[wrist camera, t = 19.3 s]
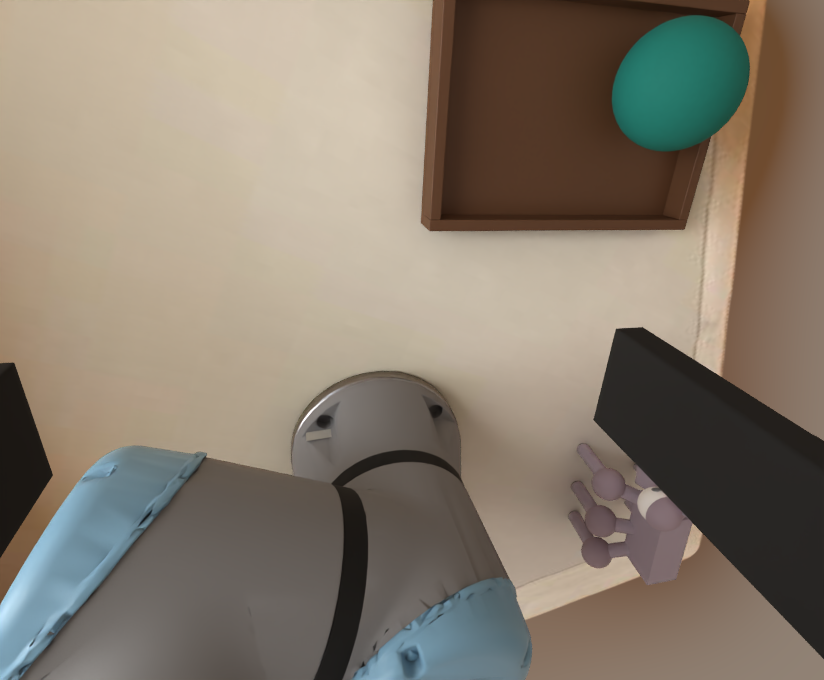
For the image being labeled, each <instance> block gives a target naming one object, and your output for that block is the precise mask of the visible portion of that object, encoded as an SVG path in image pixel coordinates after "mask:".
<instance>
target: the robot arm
mask: <svg viewBox="0 0 824 680" xmlns="http://www.w3.org/2000/svg"><path fill="white" fill-rule="evenodd" d="M594 421H595V422H596V423H597V424H598V425H599V426H600V427H601V428H602V429H603V430H604V431H605V432H606V433H607V435H608V436H609V437H610V438H611V439H612V440H613V441H614V442H615V443H616V444H617V445H618V446H619V447H620V448H621V449H622V450H623V451H624V452H625V453H626V454H627V455H628V456H629V457H630V458H631V459H632V460H633V461H634V463H635V464H636V465H637V466H638V467H639V468H640V469H641V470H642V471H643V472H644V473H645V474H646V475H647V476H648V477H649V478H650V479H651V480H652V481H653V482H654V483H655V484H656V485H657V486H658V487H659V488H660V490H661V491H662V492H663V493H664V494H665V495H666V496H667V497H668V498H669V499H670V500H671V501H672V502H673V503H674V504H675V505H676V506H677V507H678V508H679V509H680V510H681V511H682V512H683V513H684V514H685V515H686V516H687V518H688V519H689V520H690V521H691V522H692V523H693V524H694V525H695V526H696V527H697V528H698V529H699V530H700V531H701V532H702V533H703V534H704V535H705V536H706V537H707V538H708V539H709V540H710V541H711V542H712V543H713V544H714V546H716V548H717V549H719V551H720V552H721V553H722V554H723V555H724V556H725V557H726V558H727V559H728V560H729V561H730V562H731V563H732V564H733V565H734V566H735V567H736V568H737V569H738V570H739V571H740V573H741V574H742V575H743V576H744V577H745V578H746V579H747V580H748V581H749V582H750V583H751V584H752V585H753V586H754V587H755V588H756V589H757V590H758V591H759V592H760V593H761V594H762V595H763V596H764V597H765V598H766V600H767V601H768V602H769V603H770V604H771V605H772V606H773V607H774V608H775V609H776V610H777V611H778V612H779V613H780V614H781V615H782V616H783V617H784V618H785V619H786V620H787V621H788V622H789V623H790V624H791V625H792V627H793V628H794V629H795V630H796V631H797V632H798V633H799V634H800V635H801V636H802V637H803V638H804V639H805V640H806V641H807V642H808V643H809V644H810V645H811V646H812V647H813V648H814V649H815V650H816V651H817V652H818V653H819V655H821V657H822V658H823V659H824V441H823V440H821V439H820V438H818V437H817V436H814V435H812V434H811V433H809V432H807V431H806V430H804V429H803V428H801V427H800V426H798V425H796V424H795V423H793V422H792V421H790V420H788V419H787V418H785V417H784V416H782V415H780V414H779V413H777V412H776V411H774V410H773V409H771V408H769V407H767V406H766V405H765V404H763V403H761V402H760V401H758V400H757V399H755V398H754V397H752V396H750V395H749V394H747V393H746V392H744V391H743V390H741V389H739V388H738V387H736V386H735V385H733V384H731V383H730V382H728V381H727V380H725V379H724V378H722V377H720V376H719V375H717V374H716V373H714V372H712V371H711V370H709V369H708V368H706V367H705V366H703V365H701V364H700V363H698V362H697V361H695V360H693V359H692V358H690V357H689V356H687V355H686V354H684V353H682V352H681V351H679V350H678V349H676V348H674V347H673V346H671V345H670V344H668V343H667V342H665V341H663V340H662V339H660V338H659V337H657V336H655V335H654V334H652V333H651V332H649V331H648V330H646V329H644V328H643V327H640V328H622V329H616V331H615V335H614V339H613V343H612V347H611V351H610V355H609V359H608V364H607V368H606V372H605V376H604V380H603V384H602V388H601V392H600V396H599V400H598V404H597V408H596V412H595V416H594ZM206 456H207V453H204V452H197V453H195V454H189V453H183V452H177V451H170V450H164V449H158V448H152V447H145V446H126V447H122V448H119V449H116V450H114V451H111V452H110V453H108V454H106V455H105V456H103V457H102V458H100V459H99V460H98V461H97V462H96V463H95V464H94V465H93V466H92V467H91V468H90V469H89V470H88V471H87V472H86V473H85V474H84V476H83V477H82V478H81V479H80V481H79V482H78V483H77V484H76V486H75V487H74V488H73V490H72V491H71V492H70V494H69V495H68V497H67V498H66V500H65V501H64V502H63V504H62V505H61V507H60V508H59V510H58V511H57V513H56V514H55V515H54V517H53V518H52V520H51V521H50V523H49V525H48V526H47V528H46V529H45V531H44V533H43V534H42V536H41V537H40V539H39V540H38V542H37V544H36V545H35V547H34V548H33V550H32V551H31V553H30V555H29V556H28V558H27V560H26V561H25V563H24V565H23V566H22V568H21V570H20V571H19V573H18V575H17V577H16V578H15V580H14V582H13V583H12V585H11V587H10V589H9V590H8V592H7V594H6V596H5V598H4V599H3V601H2V603H1V605H0V680H525V679H526V676H527V674H528V671H529V668H530V664H531V657H532V643H531V637H530V633H529V630H528V628H527V625H526V622H525V620H524V617H523V615H522V612H521V610H520V607H519V605H518V602H517V599H516V597H517V595H516V589H515V587H514V585H513V583H512V582H511V580H510V579H509V577H508V575H507V573H506V571H505V569H504V567H503V565H502V562H501V560H500V558H499V556H498V554H497V552H496V550H495V548H494V546H493V544H492V542H491V540H490V538H489V536H488V534H487V531H486V529H485V527H484V525H483V523H482V521H481V519H480V517H479V515H478V513H477V511H476V509H475V507H474V505H473V503H472V500H471V498H470V496H469V494H468V492H467V490H466V488H465V486H464V484H463V482H462V480H461V440H460V433H459V429H458V424H457V421H456V418H455V416H454V414H453V412H452V410H451V408H450V406H449V404H448V403H447V401H446V400H445V398H444V397H443V396H442V394H441V393H440V392H439V391H438V390H437V389H435V388H434V387H433V386H432V385H430V384H429V383H427V382H425V381H424V380H421V379H419V378H417V377H414V376H412V375H408V374H404V373H399V372H389V371H378V372H369V373H364V374H359V375H356V376H352V377H349V378H347V379H344V380H342V381H340V382H338V383H336V384H334V385H332V386H331V387H329V388H327V389H326V390H325V391H323V392H322V393H321V394H319V395H318V396H317V397H316V398H315V399H314V400H313V401H312V402H311V403H310V404H309V405H308V406H307V408H306V409H305V410H304V411H303V413H302V415H301V416H300V418H299V420H298V422H297V424H296V426H295V429H294V432H293V436H292V443H291V463H292V469H293V473H294V476H293V475H288V474H283V473H278V472H274V471H269V470H264V469H259V468H255V467H250V466H245V465H240V464H235V463H231V462H226V461H221V460H216V459H211V458H207V457H206ZM52 476H53V474H52V471H51V468H50V465H49V462H48V460H47V457H46V454H45V451H44V448H43V445H42V442H41V439H40V436H39V433H38V431H37V428H36V425H35V422H34V419H33V416H32V413H31V410H30V407H29V404H28V402H27V399H26V396H25V393H24V390H23V387H22V384H21V381H20V378H19V375H18V373H17V370H16V367H15V364H14V363H0V557H1V556H2V554H3V553H4V551H5V549H6V548H7V546H8V545H9V543H10V542H11V540H12V538H13V537H14V535H15V534H16V532H17V531H18V529H19V527H20V526H21V524H22V523H23V521H24V520H25V518H26V516H27V515H28V513H29V512H30V510H31V509H32V507H33V505H34V504H35V502H36V501H37V499H38V498H39V496H40V494H41V493H42V491H43V490H44V488H45V487H46V485H47V483H48V482H49V480H50V479H51V477H52Z"/></svg>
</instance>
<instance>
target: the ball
mask: <svg viewBox="0 0 824 680" xmlns="http://www.w3.org/2000/svg"><path fill="white" fill-rule="evenodd" d="M749 72H750V63H749V56H748V52H747V49H746V46H745V44H744V42H743V40H742V38H741V37H740V36H739V34H738V33H737V32H736V31H735V30H734V29H733V28H732V27H731V26H729V25H728V24H726V23H725V22H723V21H721V20H719V19H716V18H713V17H709V16H703V15H690V16H683V17H679V18H675V19H672V20H669V21H667V22H664V23H662V24H660V25H658V26H657V27H655V28H654V29H652V30H651V31H649V32H648V33H646V34H645V35H644V36H643V37H641V38H640V39H639V40H638V41H637V42H636V44H635V45H634V46H633V47H632V48H631V49H630V51H629V52H628V53H627V55H626V56H625V58H624V59H623V61H622V63H621V65H620V67H619V69H618V71H617V74H616V77H615V80H614V84H613V90H612V107H613V113H614V116H615V119H616V121H617V123H618V125H619V127H620V129H621V130H622V132H623V133H624V134H625V135H626V136H627V137H628V138H629V139H630V140H631V141H633V142H634V143H636V144H637V145H639V146H641V147H644V148H646V149H650V150H655V151H662V152H663V151H676V150H682V149H686V148H689V147H692V146H694V145H696V144H699V143H701V142H703V141H704V140H706V139H708V138H709V137H711V136H712V135H714V134H715V133H716V132H717V131H719V130H720V129H721V128H722V127H723V126H724V125H725V124H726V123H727V122H728V121H729V119H730V118H731V117H732V116H733V114H734V113H735V112H736V110H737V108H738V107H739V105H740V103H741V101H742V99H743V97H744V95H745V92H746V89H747V85H748V81H749Z"/></svg>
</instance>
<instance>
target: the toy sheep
mask: <svg viewBox="0 0 824 680" xmlns="http://www.w3.org/2000/svg"><path fill="white" fill-rule="evenodd" d="M577 452H578V454H579V455H580V456H581V458H582V459H583V460H584V462H585V463H586V465H587V466H588V467H589V469H590V470H591V471H592V473H593V474H594V476H593V478H592V487H593V490H594V492H595V493H596V494H597V495H598V496H599V497H600V498H602V499H604V500H608V501H613V500H617V499H619V498H620V497H621V498H623V499H625V501H624V503H625V505H626V506H627V507H628V509H629V510H630V511H631V516H630V520H628V519H622V518H616V516H615V514H614V513H613V512H612V511H611V510H610V509H609V508H607V507H605V506H602V505H597V504H596V502H595V501H594V499H593V498H592V496H591V495H590V493H589V492H588V491H587V489H586V488H585V486H584V485H583V483H582V482H580V481H576V482H574V483H573V484H572V486H571V489H572V491H573V492H574V494H575V495H576V497H577V498H578V500H579V501H580V503H581V504H582V506H583V508H584V509H585V511H586V515H585V521H584V520H583V518H582V516H581V515H580V513H579V512H577V511H573V512H571V513H570V514H569V520H570V521H571V523H572V525H573V526H574V528H575V530H576V532H577V533H578V535H579V537H580V538H581V540H582V542H583V545H582V548H581V553H582V556H583V558H584V560H585V562H586V563H587V564H589V565H590V566H592V567H594V568H603V567H606V566H607V565H608V564H609V563H610V561H611V559H612V558H615V557H623V556H627V557H628V558H629V559H630V561H631V562H632V564H633V565H634V567H635V568H636V570H637V571H638V573H639V574H640V576H641V577H642V578H643V580H644V581H645V583H646V584H647V585H651V584H656V583H660V582H666V581H670V580H676V577H677V574H678V571H679V567H680V564H681V560H682V557H683V554H684V550H685V547H686V543H687V540H688V536H689V533H690V529H691V526H692V522H691V521H690V520H689V519H688V518H687V516H686V515H685V514H684V513H683V512H682V511H681V510H680V509H679V508H678V507H677V506H676V505H675V504H674V503H673V502H672V501H671V500H670V499H669V498H668V497H667V496H666V495H665V494H664V493H663V492H662V491H661V490H660V488H659V487H658V486H657V485H656V484H655V483H654V482H653V481H652V480H651V479H650V478H649V477H648V476H647V475H646V474H645V473H644V472H643V471H642V470H641V469H640V468H639V467H638V466H637V465H636V464H635V465H634V467H633V468H634V469H635V471H636V479H635V483H636V484H638V485H639V486H641V487H642V488H644V490H641V491H640V490H638V489H635V488H633V487H631V486H629V485H626V484H625V480H624V478H623V476H622V475H621V474H620V473H619V472H618V471H616V470H614V469H611V468H606V467H605V466H604V465H603V463H602V462H601V461H600V459H599V458H598V457H597V456H596V454H595V453H594V452H593V451H592V449H591V448H590V447H589V446H588V445H587V444H580V445H579V446H578V447H577ZM614 532H620V533H626V534H627V535H626V539H625V541H624V542H617V543H610V544H608V543H607V542H606V541H605V540H603V539H602V538H599V537H607V536H610V535H611V534H613V533H614ZM593 534H594V535H595V536H598V537H594V536H593Z"/></svg>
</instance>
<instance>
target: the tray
mask: <svg viewBox="0 0 824 680" xmlns="http://www.w3.org/2000/svg"><path fill="white" fill-rule="evenodd" d="M748 5H749V0H433V9H432V28H431V47H430V65H429V84H428V103H427V121H426V140H425V158H424V177H423V196H422V214H421V223H422V224H423V225H424V226H425V227H426V228H427V229H428V230H429V231H513V230H684V229H685V226H686V223H687V219H688V216H689V212H690V209H691V205H692V202H693V198H694V195H695V191H696V188H697V184H698V181H699V177H700V174H701V170H702V167H703V163H704V160H705V156H706V153H707V149H708V146H709V142H710V139H711V137H709V138H708V139H706V140H704V141H703V142H701V143H699V144H696V145H694V146H692V147H689V148H686V149H682V150H676V151H663V152H662V151H655V150H650V149H646V148H644V147H641V146H639V145H637V144H636V143H634V142H633V141H631V140H630V139H629V138H628V137H627V136H626V135H625V134H624V133H623V132H622V130H621V129H620V127H619V125H618V123H617V121H616V119H615V116H614V113H613V107H612V90H613V84H614V80H615V77H616V74H617V71H618V69H619V67H620V65H621V63H622V61H623V59H624V58H625V56H626V55H627V53H628V52H629V51H630V49H631V48H632V47H633V46H634V45H635V44H636V42H637V41H638V40H639V39H640V38H641V37H643V36H644V35H645V34H646V33H648V32H649V31H651V30H652V29H654V28H655V27H657V26H658V25H660V24H662V23H664V22H667V21H669V20H672V19H675V18H679V17H683V16H690V15H703V16H709V17H713V18H716V19H719V20H721V21H723V22H725V23H726V24H728V25H729V26H731V27H732V28H733V29H734V30H735V31H736V32H737V33H738V34H739V36H740V34H741V30H742V27H743V23H744V20H745V16H746V12H747V9H748Z"/></svg>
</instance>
